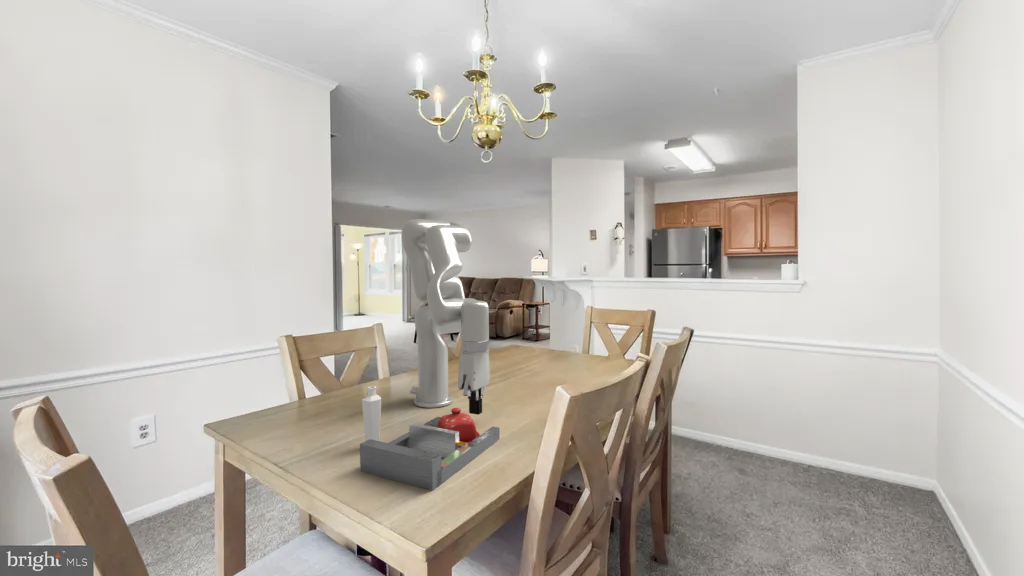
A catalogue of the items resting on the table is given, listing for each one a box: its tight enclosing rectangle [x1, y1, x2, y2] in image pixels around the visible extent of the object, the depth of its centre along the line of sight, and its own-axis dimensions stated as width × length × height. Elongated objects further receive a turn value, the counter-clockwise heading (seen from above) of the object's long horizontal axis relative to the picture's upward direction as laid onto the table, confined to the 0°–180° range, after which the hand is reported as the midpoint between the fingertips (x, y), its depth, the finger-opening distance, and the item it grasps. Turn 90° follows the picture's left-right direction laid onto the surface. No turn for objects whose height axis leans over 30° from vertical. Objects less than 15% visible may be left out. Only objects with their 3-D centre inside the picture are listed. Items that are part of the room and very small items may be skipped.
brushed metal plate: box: [408, 422, 468, 459], centre depth 102 cm, size 16×2×6 cm, turn 64°
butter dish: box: [437, 407, 481, 447], centre depth 111 cm, size 12×12×8 cm
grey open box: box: [359, 416, 500, 492], centre depth 103 cm, size 19×28×6 cm, turn 154°
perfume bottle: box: [361, 385, 382, 441], centre depth 106 cm, size 5×4×15 cm
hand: (475, 412), depth 119 cm, fingers closed
